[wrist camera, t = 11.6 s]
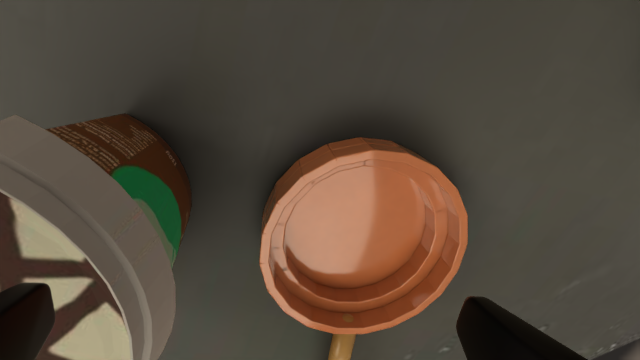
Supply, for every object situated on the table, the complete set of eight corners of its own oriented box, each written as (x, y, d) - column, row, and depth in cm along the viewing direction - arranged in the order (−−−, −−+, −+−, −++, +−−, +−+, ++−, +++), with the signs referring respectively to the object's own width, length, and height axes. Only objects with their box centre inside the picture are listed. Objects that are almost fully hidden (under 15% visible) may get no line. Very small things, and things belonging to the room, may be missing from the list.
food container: (164, 311, 20) (75, 525, 11) (57, 278, 18) (-155, 501, 9) (252, 145, 17) (232, 249, 8) (136, 86, 15) (-63, 132, 6)
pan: (463, 146, 19) (496, 162, 16) (416, 300, 23) (436, 334, 20) (270, 125, 17) (270, 138, 14) (254, 297, 21) (252, 335, 18)
